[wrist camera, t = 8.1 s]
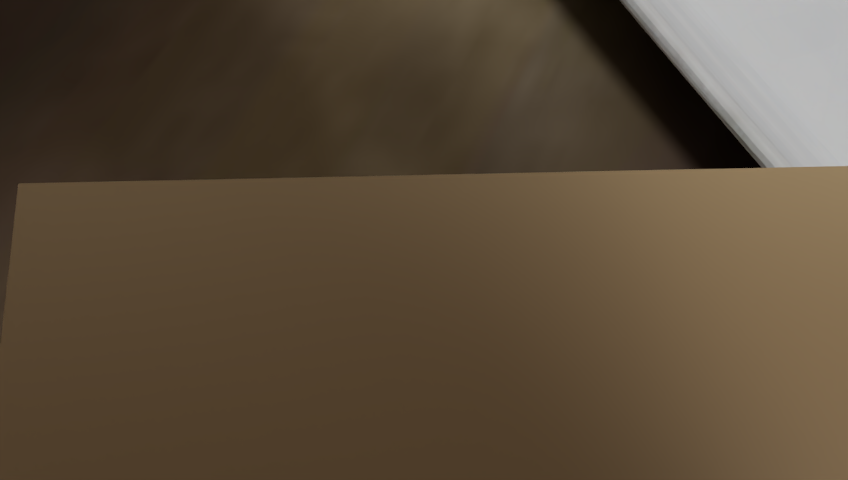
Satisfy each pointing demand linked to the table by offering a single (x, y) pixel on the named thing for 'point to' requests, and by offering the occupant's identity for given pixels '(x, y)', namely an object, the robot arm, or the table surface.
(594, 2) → the table surface
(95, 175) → the table surface
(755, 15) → the tray
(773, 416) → the wooden block
